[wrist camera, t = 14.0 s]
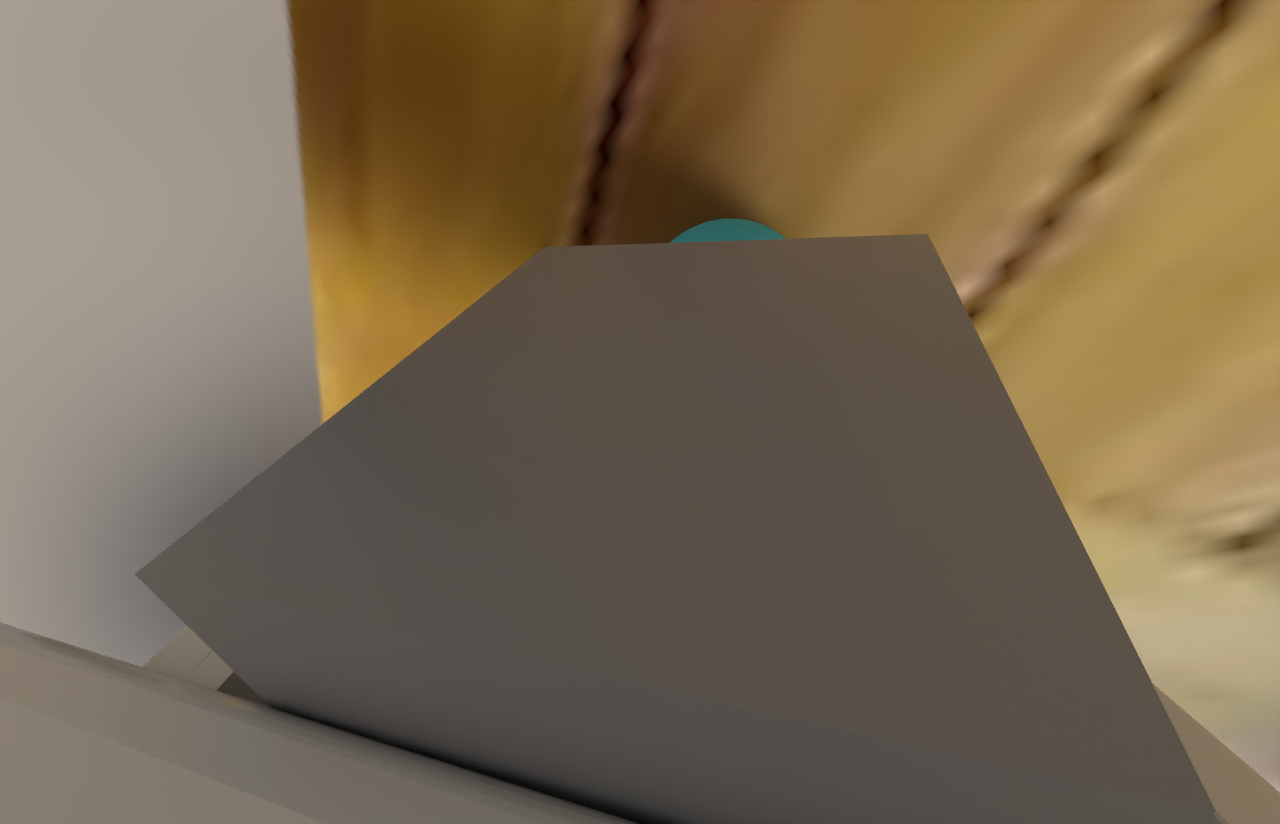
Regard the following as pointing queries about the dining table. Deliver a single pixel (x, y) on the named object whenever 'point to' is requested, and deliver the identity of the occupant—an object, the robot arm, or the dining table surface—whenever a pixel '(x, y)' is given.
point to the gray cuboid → (698, 556)
